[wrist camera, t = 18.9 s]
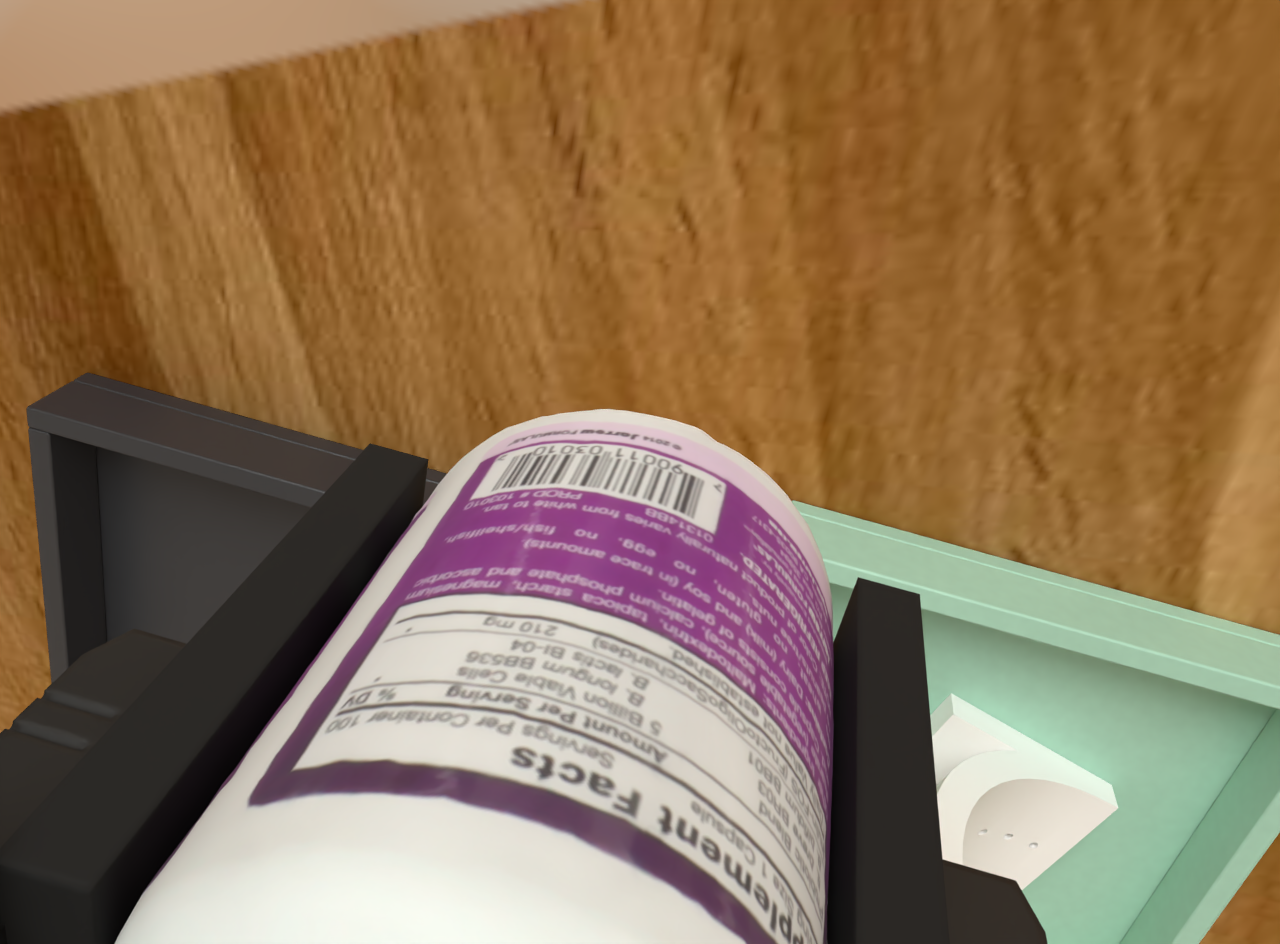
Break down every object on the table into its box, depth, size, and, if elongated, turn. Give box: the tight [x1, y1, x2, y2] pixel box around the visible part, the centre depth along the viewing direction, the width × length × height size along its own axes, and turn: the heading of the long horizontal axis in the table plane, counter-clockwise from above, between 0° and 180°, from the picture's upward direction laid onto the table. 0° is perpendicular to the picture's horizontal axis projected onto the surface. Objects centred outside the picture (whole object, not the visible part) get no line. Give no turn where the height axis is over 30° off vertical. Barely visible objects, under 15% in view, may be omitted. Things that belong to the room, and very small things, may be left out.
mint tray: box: [792, 501, 1280, 944], centre depth 28 cm, size 13×13×2 cm
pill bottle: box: [115, 409, 834, 944], centre depth 9 cm, size 5×5×10 cm
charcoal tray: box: [27, 373, 447, 683], centre depth 30 cm, size 13×13×2 cm
